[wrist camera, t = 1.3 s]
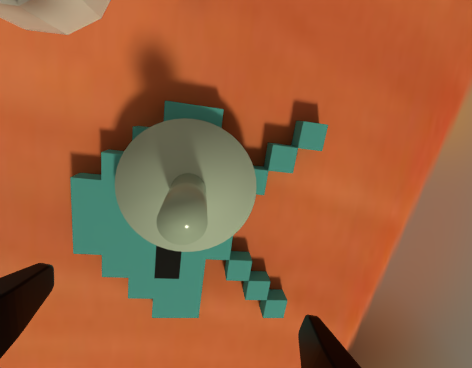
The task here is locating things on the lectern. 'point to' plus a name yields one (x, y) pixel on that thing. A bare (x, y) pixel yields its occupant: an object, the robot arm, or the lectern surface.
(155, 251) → the alien figure
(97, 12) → the bowl
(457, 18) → the lectern surface
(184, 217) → the lid
